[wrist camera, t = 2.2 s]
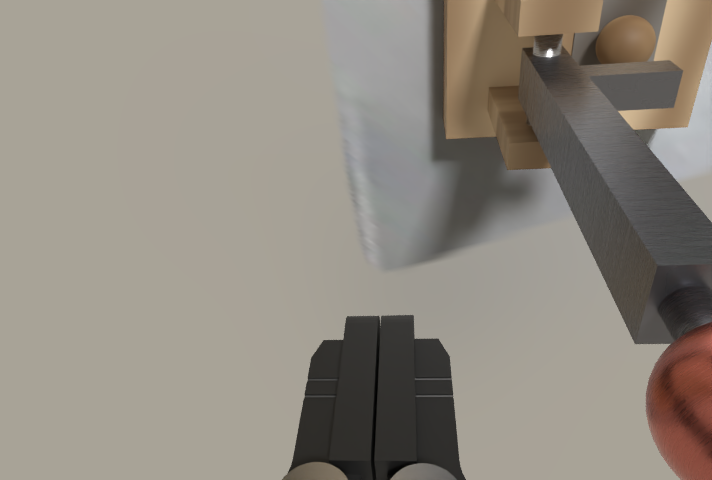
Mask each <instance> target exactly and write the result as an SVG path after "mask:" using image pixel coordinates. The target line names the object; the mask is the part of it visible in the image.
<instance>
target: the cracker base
mask: <svg viewBox="0 0 712 480" xmlns="http://www.w3.org/2000/svg"><path fill="white" fill-rule="evenodd" d="M553 34H563V41H562V46H563V47H564V48H565V49H566V50H567V51H568V53H569V54H570V55H571V56H572V57H573V59H574V60H575V61H576V62H577V63H578V65H579V66H583V65H599V64H615V63H631V62H647V61H663V60H670V61H672V62H673V63H674V64H675V65H677V66H678V67H679V68H681V69H682V70H683V74H682V78H681V82H680V86H679V90H678V93H677V97H676V101H675V105H674V108H664V109H645V110H626V111H618V112H619V113H620V114H621V116H622V117H623V118H624V119H625V120H626V122H627V123H628V124H629V125H630V126H631V127H632V129H633V130H639V129H659V128H680V127H688V124H689V120H690V116H691V113H692V109H693V106H694V102H695V98H696V95H697V91H698V87H699V84H700V80H701V77H702V73H703V69H704V66H705V62H706V59H707V55H708V51H709V48H710V44H711V40H712V0H444V82H443V121H444V128H445V134H446V139H457V138H478V137H497V140H498V143H499V146H500V149H501V152H502V155H503V158H504V161H505V164H506V167H507V170H518V169H541V168H551V166H550V164H549V162H548V160H547V158H546V156H545V154H544V152H543V150H542V148H541V145H540V143H539V141H538V139H537V137H536V135H535V133H534V131H533V129H532V127H531V126H529V125H528V124H527V123H526V118H527V116H526V114H525V112H524V110H523V108H522V106H521V103H520V101H519V99H518V90H519V79H520V67H521V55H522V48H528V47H533V45H534V36H539V35H553Z"/></svg>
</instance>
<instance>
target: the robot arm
mask: <svg viewBox="0 0 712 480" xmlns="http://www.w3.org/2000/svg"><path fill="white" fill-rule="evenodd" d="M282 480H466V479H465V477H464V475H463V473H462V470H461V467H460V462H459V454H458V442H457V431H456V421H455V410H454V399H453V388H452V379H451V367H450V357H449V355H448V353H447V352H446V350H445V349H444V347H443V345H442V344H441V342H440V341H439V339H414V316H413V315H404V316H403V315H402V316H401V315H398V316H381V328H380V318H379V316H350V317H349V316H347V318H346V323H345V333H344V340H324V341H323V342H322V344H321V345H320V346H319V348H318V349H317V351H316V352H315V353H314V355H313V356H312V358H311V363H310V368H309V374H308V382H307V385H306V390H305V399H304V401H303V407H302V412H301V418H300V423H299V429H298V434H297V440H296V445H295V451H294V456H293V461H292V465H291V467H290V469H289V472H288V474H287V475H286V476H284V478H283V479H282Z"/></svg>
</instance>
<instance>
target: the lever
mask: <svg viewBox="0 0 712 480" xmlns="http://www.w3.org/2000/svg"><path fill="white" fill-rule="evenodd" d="M562 41H563V34H553V35H539V36H534V45H533V47H528V48H522V55H521V67H520V79H519V90H518V99H519V101H520V103H521V106H522V108H523V110H524V112H525V114H526V116H527V118H526V123H527V124H528V125H529V126H531V127H532V129H533V131H534V133H535V135H536V137H537V139H538V141H539V143H540V145H541V148H542V150H543V152H544V154H545V156H546V158H547V160H548V162H549V164H550V166H551V169H552V171H553V173H554V175H555V177H556V179H557V181H558V183H559V185H560V187H561V190H562V192H563V194H564V196H565V198H566V200H567V202H568V204H569V206H570V208H571V211H572V213H573V215H574V217H575V219H576V221H577V223H578V225H579V227H580V229H581V232H582V233H583V235H584V238H585V240H586V242H587V244H588V246H589V248H590V250H591V252H592V255H593V257H594V259H595V261H596V263H597V265H598V267H599V269H600V271H601V273H602V276H603V278H604V280H605V282H606V284H607V286H608V288H609V290H610V292H611V294H612V297H613V299H614V301H615V303H616V305H617V307H618V309H619V311H620V313H621V315H622V318H623V319H624V322H625V324H626V326H627V328H628V330H629V332H630V334H631V336H632V339H633V340H634V343H635V344H671V345H670V346H668V348H667V349H666V350H665V351H664V353H663V354H662V355H661V356H660V358H659V359H658V361H657V362H656V364H655V366H654V368H653V371H652V373H651V375H650V378H649V382H648V386H647V391H646V414H647V419H648V424H649V428H650V431H651V434H652V437H653V439H654V442H655V444H656V446H657V448H658V450H659V451H660V453H661V455H662V457H663V458H664V460H665V461H666V462H667V464H668V465H669V467H670V468H671V469H672V470H673V472H674V473H675V474H676V475H677V476H678V477H679V478H680V479H681V480H712V222H711V221H710V220H709V219H708V218H707V216H706V215H705V214H704V213H703V212H702V210H701V209H700V208H699V207H698V206H697V205H696V203H695V202H694V201H693V200H692V199H691V198H690V196H689V195H688V194H687V193H686V192H685V190H684V189H683V188H682V187H681V186H680V184H679V183H678V182H677V181H676V180H675V178H674V177H673V176H672V175H671V174H670V173H669V171H668V170H667V169H666V168H665V167H664V165H663V164H662V163H661V162H660V161H659V159H658V158H657V157H656V156H655V155H654V154H653V152H652V151H651V150H650V149H649V148H648V146H647V145H646V144H645V143H644V142H643V140H642V139H641V138H640V137H639V136H638V135H637V133H636V132H635V131H634V130H633V129H632V127H631V126H630V125H629V124H628V123H627V122H626V120H625V119H624V118H623V117H622V116H621V114H620V113H619V112H618V111H626V110H645V109H664V108H674V105H675V101H676V97H677V93H678V90H679V86H680V82H681V78H682V74H683V70H682V69H681V68H679V67H678V66H677V65H675V64H674V63H673V62H672V61H670V60H663V61H647V62H631V63H615V64H599V65H583V66H579V65H578V63H577V62H576V61H575V60H574V59H573V57H572V56H571V55H570V54H569V53H568V51H567V50H566V49H565V48H564V47H563V46H562Z"/></svg>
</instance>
